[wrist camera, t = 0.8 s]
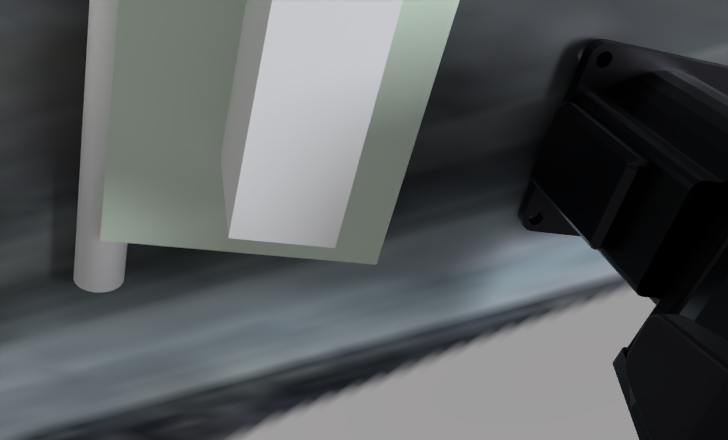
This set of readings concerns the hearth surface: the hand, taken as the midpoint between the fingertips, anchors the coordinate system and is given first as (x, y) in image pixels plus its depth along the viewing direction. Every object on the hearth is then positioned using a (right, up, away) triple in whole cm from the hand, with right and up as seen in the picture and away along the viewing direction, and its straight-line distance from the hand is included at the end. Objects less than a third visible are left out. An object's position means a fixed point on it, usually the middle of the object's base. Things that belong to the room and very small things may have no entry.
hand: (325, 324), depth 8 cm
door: (-2, +6, +10) cm, 12 cm away
